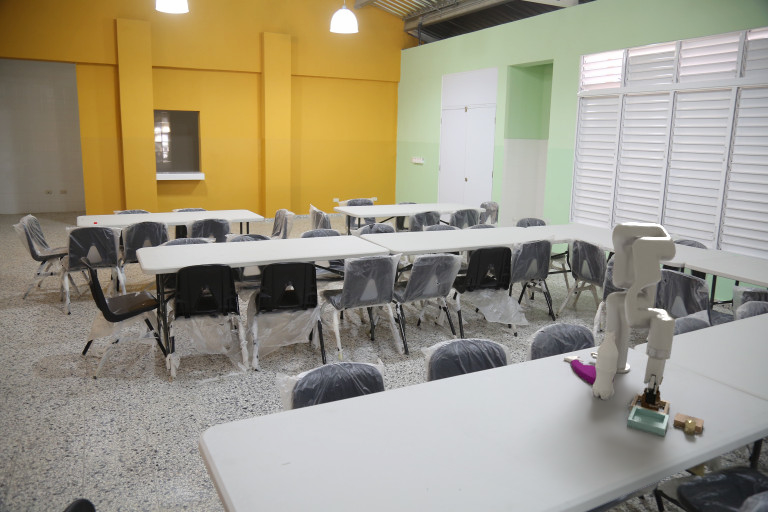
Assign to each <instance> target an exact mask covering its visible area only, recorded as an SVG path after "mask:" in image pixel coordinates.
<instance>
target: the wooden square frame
mask: <svg viewBox="0 0 768 512" xmlns="http://www.w3.org/2000/svg"><path fill="white" fill-rule="evenodd" d="M642 395H643V394H641V393H635V396H634V398H633V400H632V402H631V405H630V409H629V410H630V412H631V411H632V409H633V407H634V406H636V407H640V408H643V409H647V410H651V411H655V412H659V413H662V414H666V415H668V413H667V412H669V409H670V405H671V401H668V400H664V399H661V400H660V407H663V406H664V407H663V408H664V409H663V411H656V410H652V409H648V408H644V407H641V405H640V406H639V405H637V404H638V402H641V399H642ZM639 400H640V401H639Z"/></svg>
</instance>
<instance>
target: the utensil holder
mask: <svg viewBox="0 0 768 512" xmlns="http://www.w3.org/2000/svg"><path fill="white" fill-rule="evenodd" d="M663 379H664V376H663V377H662V380H661V382H660V385H659V386H661V385H662V382H663ZM647 388H648V384H645V388H644V389H643V393H642V394H641V395H642V399H641V401H640V407H644V408H648V409H652V410H656V411H659V410H660V408H661V406H660V400H662V399H661V390H660V389H659V390H658V387H657V389H656V394H657V395H656V401H655V405H652V404H648V403H645V397H646V391H647ZM654 389H655V388H654ZM659 412H660V411H659Z"/></svg>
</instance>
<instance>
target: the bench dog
mask: <svg viewBox="0 0 768 512" xmlns="http://www.w3.org/2000/svg"><path fill="white" fill-rule="evenodd" d="M695 426H696V422H695V421H694V420H692V419H686V421H685V427H684V428H683V433H685V434H686V435H689V436H694V435H695V433H696V432H695Z"/></svg>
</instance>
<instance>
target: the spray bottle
mask: <svg viewBox="0 0 768 512" xmlns="http://www.w3.org/2000/svg"><path fill="white" fill-rule="evenodd" d="M563 361H567V362H568V363H570V365H571V367H572V369H573V371H574V372H575V374H577V375H578V377H580V378H581V379H583V380H584V381H585V382H587V383H588V384H590V385H592V386H593V384H594V383H595V380H596V368H595V365H591V364H584V362H585V360H584V359H583V360H582V359H581V357H580V355H569V356H565V357H563ZM614 381H615V380H614V378H613V382H614Z"/></svg>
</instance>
